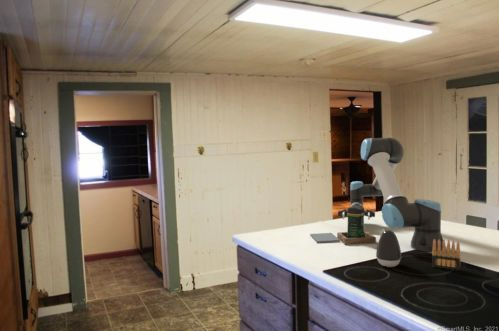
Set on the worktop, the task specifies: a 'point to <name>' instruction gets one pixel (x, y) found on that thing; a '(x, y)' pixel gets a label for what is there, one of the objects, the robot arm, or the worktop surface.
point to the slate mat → (324, 237)
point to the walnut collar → (356, 239)
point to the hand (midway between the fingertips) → (356, 217)
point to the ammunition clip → (446, 255)
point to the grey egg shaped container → (388, 249)
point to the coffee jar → (355, 221)
